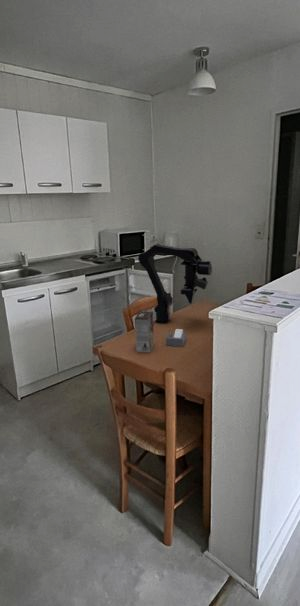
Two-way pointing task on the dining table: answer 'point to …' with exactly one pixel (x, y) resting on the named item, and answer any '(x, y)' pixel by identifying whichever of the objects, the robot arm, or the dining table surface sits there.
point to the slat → (178, 333)
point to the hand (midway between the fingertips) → (190, 303)
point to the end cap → (175, 340)
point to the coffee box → (144, 331)
